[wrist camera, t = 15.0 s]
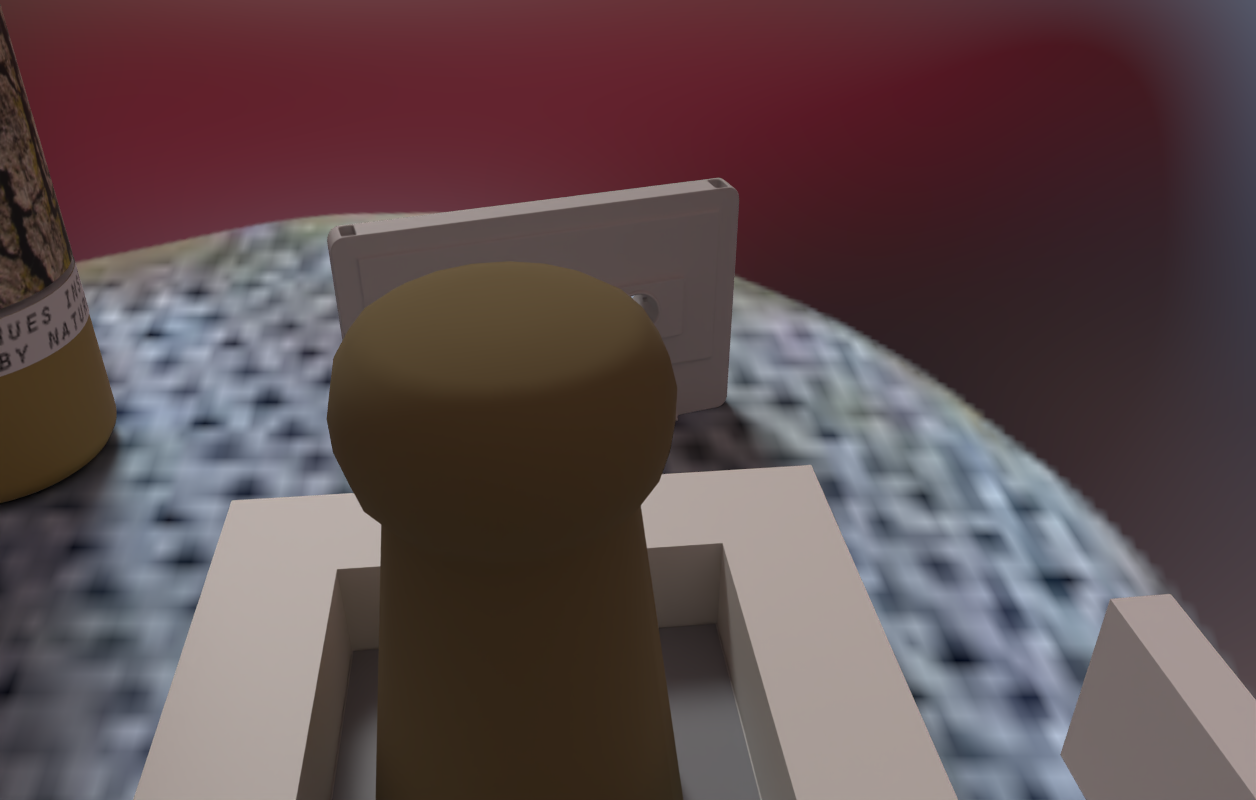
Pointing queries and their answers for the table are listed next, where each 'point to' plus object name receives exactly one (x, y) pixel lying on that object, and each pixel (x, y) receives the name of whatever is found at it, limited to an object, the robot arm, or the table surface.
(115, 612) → the table surface
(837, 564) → the socket block
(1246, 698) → the robot arm
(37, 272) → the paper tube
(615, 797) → the cork
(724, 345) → the cassette
